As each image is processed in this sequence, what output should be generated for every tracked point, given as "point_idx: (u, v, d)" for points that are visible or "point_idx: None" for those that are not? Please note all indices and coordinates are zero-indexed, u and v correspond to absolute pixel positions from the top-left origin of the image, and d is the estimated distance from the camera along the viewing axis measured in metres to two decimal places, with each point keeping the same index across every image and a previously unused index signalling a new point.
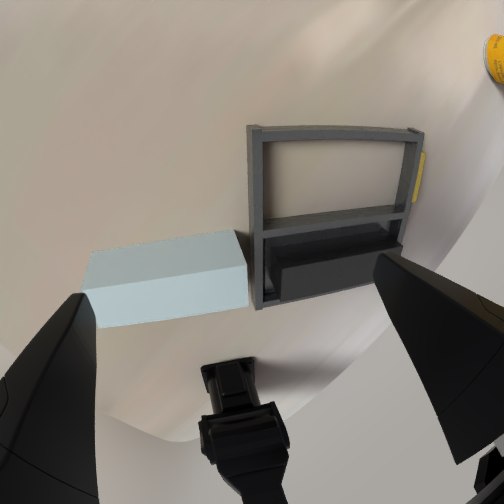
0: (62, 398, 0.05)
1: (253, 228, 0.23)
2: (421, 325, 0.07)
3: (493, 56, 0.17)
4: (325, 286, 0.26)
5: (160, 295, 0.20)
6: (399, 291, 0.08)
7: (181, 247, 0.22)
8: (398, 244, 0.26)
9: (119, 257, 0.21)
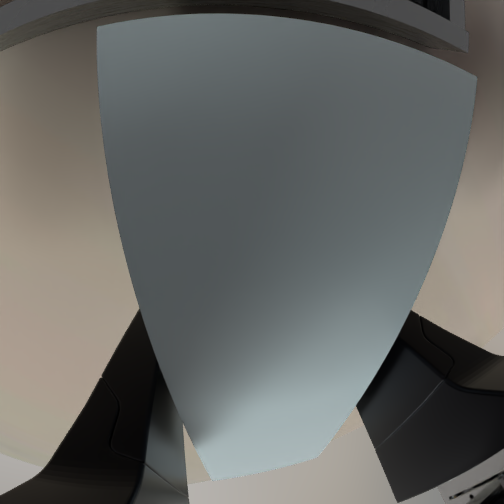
0: (168, 394, 0.05)
1: (107, 0, 0.03)
2: None
3: None
4: None
5: (261, 417, 0.05)
6: None
7: None
8: None
9: None
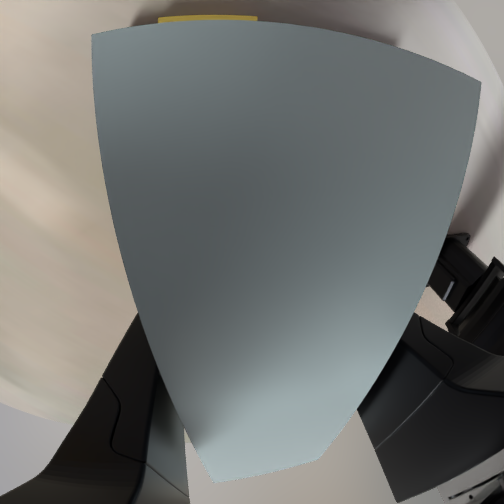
0: (168, 394, 0.05)
1: None
2: None
3: None
4: None
5: (262, 421, 0.05)
6: None
7: None
8: None
9: None
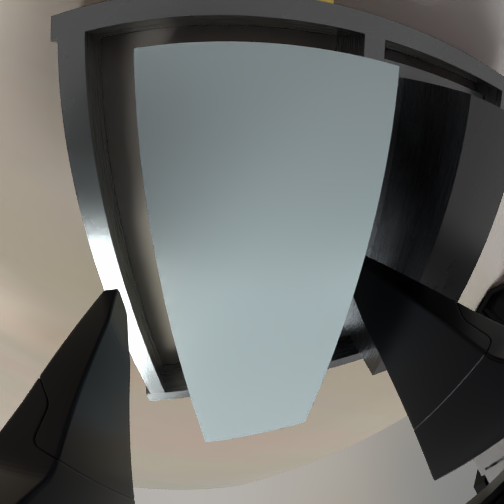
0: (103, 398, 0.05)
1: None
2: (395, 334, 0.07)
3: None
4: (451, 298, 0.10)
5: (245, 355, 0.07)
6: (373, 297, 0.08)
7: None
8: (460, 101, 0.06)
9: None
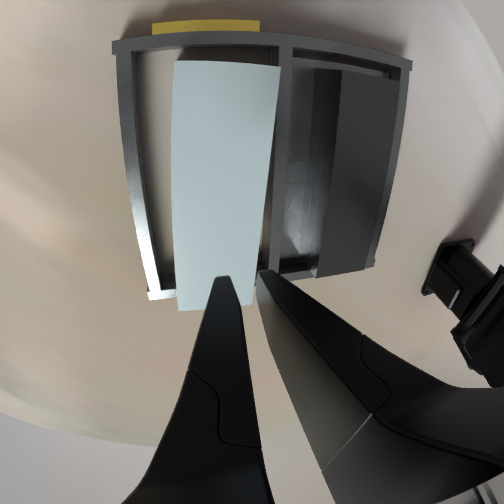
0: None
1: None
2: (291, 364, 0.07)
3: None
4: (368, 215, 0.16)
5: (207, 211, 0.13)
6: (271, 319, 0.07)
7: None
8: (337, 75, 0.12)
9: None
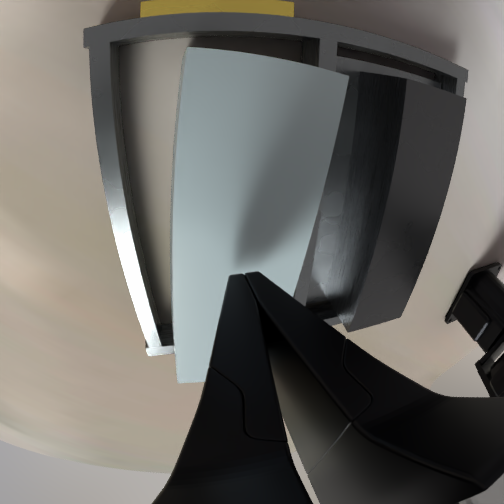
0: None
1: None
2: (275, 367, 0.06)
3: None
4: (416, 260, 0.13)
5: (224, 278, 0.09)
6: None
7: (172, 176, 0.10)
8: (399, 85, 0.08)
9: None
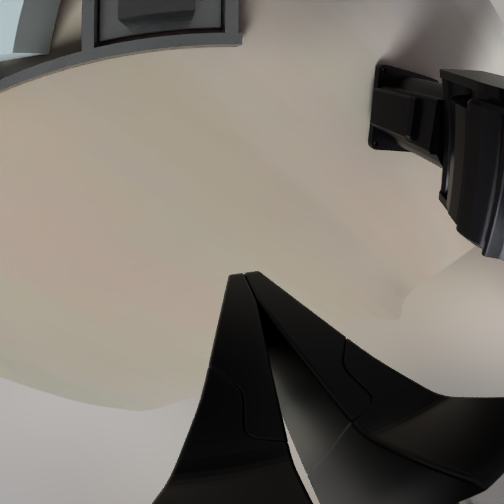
0: None
1: (79, 63, 0.11)
2: (275, 367, 0.06)
3: None
4: None
5: None
6: None
7: None
8: None
9: None
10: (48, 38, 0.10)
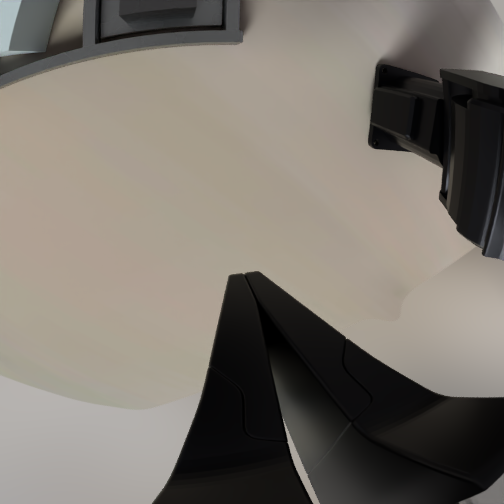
0: None
1: (80, 59, 0.11)
2: (275, 367, 0.06)
3: None
4: None
5: None
6: None
7: None
8: None
9: None
10: (45, 36, 0.10)
